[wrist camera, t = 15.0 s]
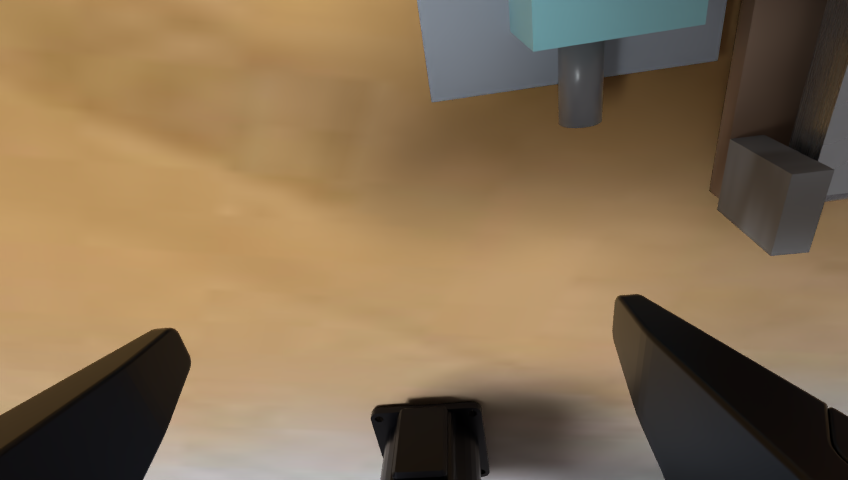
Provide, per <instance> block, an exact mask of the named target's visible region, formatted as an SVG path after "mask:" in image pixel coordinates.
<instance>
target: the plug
mask: <svg viewBox="0 0 848 480" xmlns="http://www.w3.org/2000/svg"><path fill="white" fill-rule="evenodd" d="M708 1H709V0H509V18H510V32H511V33H512V34H514V35H515V36H516V37H517V38H518V39H519V40H520V41H522V42H523V43H524V44H525V45H526V46H527V47H528V48H530V49H531V50H532V51H533V52H535V51H541V50H548V49H554V48H558V108H559V125H560V126H563V127H567V128H584V127H590V126H594V125H597V124H599V123H601V122H602V108H603V80H604V53H605V40H611V39H617V38H623V37H629V36H636V35H642V34H648V33H655V32H661V31H667V30H673V29H680V28H686V27H692V26H699V25H705V23H706V15H707V8H708Z"/></svg>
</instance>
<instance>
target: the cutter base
mask: <svg viewBox="0 0 848 480" xmlns="http://www.w3.org/2000/svg"><path fill="white" fill-rule="evenodd" d="M827 1H828V0H742V2H741V8H740V14H739V19H738V25H737V31H736V37H735V43H734V49H733V55H732V61H731V66H730V72H729V78H728V84H727V90H726V96H725V102H724V108H723V113H722V119H721V125H720V131H719V137H718V143H717V149H716V155H715V160H714V166H713V172H712V178H711V184H710V190H709V191H710V192H712V193H713V194H714V195H715V196H717V197H718V198H719V202H718V207H717V210H718V211H719V212H721V213H722V214H723V215H724V216H725V217H726V218H727V219H729V220H730V221H731V222H732V223H733V224H734V225H736V226H737V227H738V228H739V229H740V230H741V231H743V232H744V233H745V234H746V235H747V236H748V237H749V238H751V239H752V240H753V241H754V242H755V243H756V244H758V245H759V246H760V247H761V248H762V249H763V250H765V251H766V252H767V253H768V254H769V255H770V256H775V255H785V254H796V253H806V252H809V250H810V247H811V244H812V241H813V238H814V234H815V231H816V228H817V225H818V222H819V218H820V215H821V212H822V209H823V205H824V202H825V199H826V196H827V193H828V189H829V186H830V183H831V180H832V176H833V173H834V169H832V168H830V167H828V166H826V165H824V164H822V163H820V162H818V161H816V160H814V159H812V158H810V157H808V156H806V155H804V154H802V153H800V152H798V151H796V150H794V149H792V148H790V147H789V143H790V139H791V135H792V132H793V128H794V124H795V120H796V117H797V113H798V109H799V105H800V102H801V98H802V94H803V90H804V87H805V83H806V79H807V76H808V72H809V68H810V64H811V61H812V57H813V53H814V49H815V46H816V42H817V38H818V34H819V31H820V27H821V23H822V19H823V16H824V12H825V8H826V4H827Z"/></svg>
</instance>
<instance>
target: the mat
mask: <svg viewBox="0 0 848 480" xmlns="http://www.w3.org/2000/svg"><path fill="white" fill-rule="evenodd" d="M417 3H418V10H419V17H420V24H421V31H422V38H423V45H424V52H425V59H426V66H427V73H428V80H429V87H430V94H431V100H432V102H438V101H445V100H452V99H459V98H466V97H473V96H479V95H486V94H493V93H500V92H507V91H514V90H520V89H527V88H534V87H541V86H548V85H555V84H558V48H554V49H548V50H541V51H535V52H533V51H532V50H531V49H530V48H528V47H527V46H526V45H525V44H524V43H523V42H522V41H520V40H519V39H518V38H517V37H516V36H515V35H514V34H512V33H511V32H510V18H509V0H417ZM726 4H727V0H709V1H708V8H707V15H706V23H705V25H699V26H692V27H686V28H680V29H673V30H667V31H661V32H655V33H648V34H642V35H636V36H629V37H623V38H617V39H611V40H605V53H604V77H609V76H616V75H623V74H630V73H637V72H644V71H650V70H657V69H664V68H671V67H678V66H685V65H691V64H698V63H705V62H712V61H718V55H719V49H720V42H721V36H722V30H723V23H724V17H725V10H726Z"/></svg>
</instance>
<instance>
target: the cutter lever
mask: <svg viewBox="0 0 848 480" xmlns="http://www.w3.org/2000/svg"><path fill="white" fill-rule="evenodd" d="M789 147H790V148H792V149H794V150H796V151H798V152H800V153H802V154H804V155H806V156H808V157H810V158H812V159H814V160H816V161H818V162H820V163H822V164H824V165H826V166H828V167H830V168H832V169H834V173H833V176H832V180H831V183H830V186H829V189H828V193H827V196H826V199H825V202H827V201H836V200H845V199H848V0H828V1H827V4H826V8H825V12H824V16H823V19H822V23H821V27H820V31H819V34H818V38H817V42H816V46H815V49H814V53H813V57H812V61H811V64H810V68H809V72H808V76H807V79H806V83H805V87H804V90H803V94H802V98H801V102H800V105H799V109H798V113H797V117H796V120H795V124H794V128H793V132H792V135H791V139H790V143H789Z"/></svg>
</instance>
